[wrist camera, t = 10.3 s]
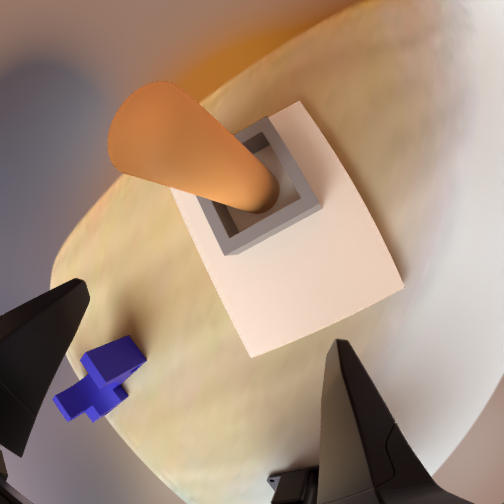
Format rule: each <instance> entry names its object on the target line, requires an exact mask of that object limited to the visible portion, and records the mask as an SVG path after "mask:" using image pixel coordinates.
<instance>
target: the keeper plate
mask: <svg viewBox="0 0 504 504" xmlns="http://www.w3.org/2000/svg"><path fill="white" fill-rule="evenodd" d="M234 137H235V138H236V139H237V140H238V141H239V142H240V143H242V144H243V145H244V146H245V147H246V148H247V149H248V150H249V151H250V152H251V153H252V154H253V155H254V156H255V157H256V158H257V159H258V160H259V161H260V162H261V163H262V164H263V165H264V166H265V167H266V168H267V169H268V170H269V171H270V172H271V173H272V174H273V175H274V176H275V178H276V179H277V181H278V183H279V188H280V192H279V197H278V200H277V202H276V203H275V205H274V206H273V207H272V208H271V209H270V210H268V211H266V212H264V213H260V214H253V213H249V212H246V211H243V210H240V209H237V208H234V207H231V206H228V205H225V204H222V203H219V202H216V201H213V200H210V199H206V198H203V197H200V196H197V195H194V194H191V193H188V192H184V191H181V190H178V189H175V188H171V187H170V189H171V192H172V194H173V196H174V199H175V201H176V203H177V205H178V208H179V210H180V212H181V215H182V217H183V219H184V221H185V224H186V226H187V228H188V230H189V232H190V235H191V237H192V239H193V241H194V243H195V246H196V248H197V250H198V252H199V254H200V256H201V259H202V261H203V263H204V265H205V267H206V269H207V271H208V273H209V276H210V278H211V280H212V282H213V284H214V286H215V288H216V290H217V292H218V294H219V296H220V298H221V300H222V302H223V304H224V306H225V308H226V310H227V312H228V314H229V316H230V318H231V320H232V322H233V324H234V326H235V328H236V330H237V332H238V334H239V336H240V338H241V340H242V342H243V344H244V346H245V348H246V350H247V351H248V353H249V355H250V357H251V358H253V357H255V356H258V355H261V354H263V353H266V352H268V351H271V350H274V349H276V348H279V347H281V346H284V345H286V344H288V343H291V342H293V341H296V340H298V339H300V338H303V337H305V336H307V335H310V334H312V333H314V332H316V331H319V330H321V329H323V328H325V327H328V326H330V325H332V324H334V323H336V322H338V321H340V320H343V319H345V318H347V317H349V316H351V315H353V314H355V313H357V312H359V311H361V310H363V309H365V308H367V307H369V306H371V305H373V304H375V303H377V302H379V301H381V300H383V299H385V298H386V297H388V296H390V295H392V294H394V293H396V292H398V291H399V290H401V289H403V288H405V287H404V284H403V282H402V280H401V277H400V275H399V273H398V270H397V268H396V266H395V264H394V261H393V259H392V257H391V255H390V253H389V251H388V249H387V246H386V244H385V242H384V240H383V238H382V236H381V234H380V232H379V230H378V228H377V226H376V224H375V222H374V220H373V218H372V217H371V215H370V213H369V211H368V209H367V207H366V205H365V203H364V202H363V200H362V198H361V196H360V194H359V193H358V191H357V189H356V187H355V186H354V184H353V182H352V180H351V179H350V177H349V175H348V174H347V172H346V170H345V169H344V167H343V165H342V164H341V162H340V160H339V159H338V157H337V156H336V154H335V152H334V151H333V149H332V148H331V146H330V145H329V143H328V141H327V140H326V138H325V137H324V135H323V134H322V132H321V131H320V129H319V128H318V126H317V125H316V123H315V122H314V121H313V119H312V118H311V116H310V115H309V113H308V112H307V111H306V109H305V108H304V106H303V105H302V104H301V102H300V101H298V102H296V103H294V104H292V105H290V106H288V107H286V108H285V109H283V110H281V111H279V112H277V113H276V114H274V115H272V116H270V117H267V116H266V117H264V118H262V119H261V120H259V121H257V122H256V123H254V124H252V125H251V126H249V127H247V128H246V129H244V130H242V131H241V132H239V133H237V134H236V135H234Z"/></svg>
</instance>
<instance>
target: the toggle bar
mask: <svg viewBox="0 0 504 504" xmlns="http://www.w3.org/2000/svg"><path fill="white" fill-rule="evenodd" d="M107 144H108V153H109V157H110V160H111V162H112V163H113V165H114V166H115V167H116V168H117V169H118V170H119V171H121V172H122V173H125V174H128V175H131V176H135V177H138V178H142V179H145V180H148V181H152V182H155V183H158V184H162V185H165V186H168V187H171V188H175V189H178V190H181V191H184V192H188V193H191V194H194V195H197V196H200V197H203V198H206V199H210V200H213V201H216V202H219V203H222V204H225V205H228V206H231V207H234V208H237V209H240V210H243V211H246V212H249V213H253V214H260V213H264V212H266V211H268V210H270V209H271V208H272V207H273V206H274V205H275V203H276V202H277V200H278V197H279V192H280V188H279V183H278V181H277V179H276V178H275V176H274V175H273V174H272V173H271V172H270V171H269V170H268V169H267V168H266V167H265V166H264V165H263V164H262V163H261V162H260V161H259V160H258V159H257V158H256V157H255V156H254V155H253V154H252V153H251V152H250V151H249V150H248V149H247V148H246V147H245V146H244V145H243V144H242V143H240V142H239V141H238V140H237V139H236V138H235V137H234V136H233V135H232V134H231V133H230V132H229V131H228V130H227V129H226V128H225V127H224V126H222V125H221V124H220V123H219V122H218V121H217V120H216V119H215V118H214V117H213V116H212V115H211V114H209V113H208V112H207V111H206V110H205V109H204V108H203V107H202V106H201V105H199V104H198V103H197V102H196V101H195V100H194V99H193V98H191V97H190V96H189V95H188V94H187V93H186V92H185V91H183V90H182V89H181V88H180V87H179V86H177V85H176V84H174V83H171V82H168V81H157V82H153V83H149V84H147V85H145V86H143V87H141V88H139V89H138V90H136V91H135V92H134V93H132V94H131V95H130V96H129V97H128V98H127V99H126V100H125V101H124V102H123V104H122V105H121V106H120V108H119V109H118V111H117V113H116V115H115V116H114V118H113V121H112V123H111V126H110V129H109V134H108V143H107Z"/></svg>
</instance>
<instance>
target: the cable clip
mask: <svg viewBox="0 0 504 504" xmlns="http://www.w3.org/2000/svg"><path fill="white" fill-rule="evenodd" d="M80 361H81V362H82V364H83V366H84V367H85V369H86V370H87V372H88V373H89V374H88V375H87V376H85V377H84V378H83V379H82V380H80V381H79V382H77V383H76V384H74V385H73V386H71V387H70V388H68V389H66V390H65V391H63V392H61V393H59V394H57V395H55V397H54V398H53V401H54V403H55V404H56V405H57V407H58V409H59V410H60V412H61V413H62V414H63V416H64V418H65V419H66V420H67V422H68V421H70V420H72V419H74V418H76V417H77V416H79V415H81V414H83V413H84V412H85V413H86V414H87V415H88V417H89V418H90V419H91V421H92V422H95V421H96V420H97V419H99V418H101V417H103V416H104V415H106V414H107V413H109V412H110V411H111V410H112V409H114V408H115V407H116V406H117V405H119V404H120V403H121V402H122V401H123V400H125V399H126V398H127V397H128V395H127V393H126V392H125V391H124V389H123V388H122V387H121V384H122V383H123V382H124V381H125V380H126V379H127V378H128V377H129V376H131V375H132V374H133V373H134V372H135V371H136V370H137V369H138V368H139V367H140V366H141V365H142V364H144V363H145V362H146V361H147V359H146V358H145V357H144V356H143V354H142V353H141V352H140V350H139V349H138V347H137V346H136V345H135V343H134V342H133V341H132V339H131V338H130V336H129V335H128V336H125V337H123V338H120V339H118V340H115V341H113V342H110V343H108V344H105V345H103V346H100V347H98V348H95V349H93V350H90V351H87V352H85V354H84V355H83V357H82V358H81V359H80Z"/></svg>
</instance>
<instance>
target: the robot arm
mask: <svg viewBox="0 0 504 504" xmlns="http://www.w3.org/2000/svg"><path fill="white" fill-rule="evenodd" d="M89 302H90V295H89V292H88V289H87V285H86V282H85V281H84V280H81V279H78V278H74V279H72V280H70V281H68V282H66V283H64V284H62V285H60V286H58V287H56V288H54V289H52V290H50V291H48V292H46V293H44V294H42V295H40V296H38V297H36V298H34V299H32V300H30V301H28V302H26V303H24V304H22V305H20V306H18V307H16V308H15V309H13V310H11V311H9V312H7V313H5V314H4V315H1V316H0V445H2V446H4V447H5V448H6V449H8V450H10V451H11V452H13V453H14V454H16V455H17V456H19V457H22V455H23V453H24V449H25V447H26V444H27V441H28V438H29V435H30V433H31V430H32V428H33V425H34V422H35V420H36V417H37V414H38V412H39V409H40V407H41V405H42V402H43V400H44V398H45V396H46V393H47V391H48V388H49V386H50V384H51V382H52V380H53V378H54V375H55V374H56V372H57V370H58V367H59V365H60V363H61V361H62V359H63V357H64V355H65V353H66V351H67V350H68V348H69V346H70V344H71V342H72V340H73V338H74V336H75V334H76V332H77V330H78V327H79V325H80V322H81V320H82V318H83V316H84V313H85V311H86V309H87V307H88V304H89ZM7 477H8V474H7V470H6V467H5V463H4V459H3V454H2V451H1V450H0V504H33V503H32V502H31V501H29V500H28V499H27V498H25V497H24V496H23V495H21V494H20V493H19V492H18V491H17V490H15V489H14V488H13V487H12V486H10V485H9V484H8V483H7V482H6V480H7ZM272 479H273V480H272ZM267 482H268V483H269V484H270V486H271V487H272V488H273V490H274V491H275V493H274V495H273V498H272V501H271V504H474V503H472V502H469V501H467V500H465V499H462V498H460V497H458V496H456V495H453V494H451V493H449V492H447V491H445V490H444V489H442V488H441V487H440V486H438V485H437V484H436V483H435V482H434V480H433V479H432V478H431V476H430V475H429V473H428V472H427V470H426V469H425V468H424V466H423V465H422V463H421V462H420V460H419V459H418V458H417V456H416V455H415V453H414V452H413V450H412V449H411V447H410V446H409V444H408V443H407V441H406V439H405V437H404V436H403V434H402V432H401V431H400V429H399V427H398V425H397V424H396V423H395V420H394V418H393V416H392V415H391V413H390V411H389V409H388V408H387V406H386V404H385V402H384V401H383V399H382V397H381V395H380V394H379V392H378V390H377V389H376V387H375V385H374V383H373V382H372V380H371V378H370V377H369V375H368V373H367V371H366V370H365V368H364V366H363V365H362V363H361V361H360V360H359V358H358V356H357V355H356V353H355V351H354V350H353V348H352V346H351V345H350V343H349V342H348V341H347V340H344V339H335V340H334V342H333V344H332V346H331V348H330V350H329V352H328V354H327V357H326V364H325V374H324V382H323V390H322V400H321V442H320V465H319V466H316V467H311V468H307V469H303V470H298V471H293V472H287V473H282V474H276V475H270V476H268V478H267ZM502 504H504V503H502Z"/></svg>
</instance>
